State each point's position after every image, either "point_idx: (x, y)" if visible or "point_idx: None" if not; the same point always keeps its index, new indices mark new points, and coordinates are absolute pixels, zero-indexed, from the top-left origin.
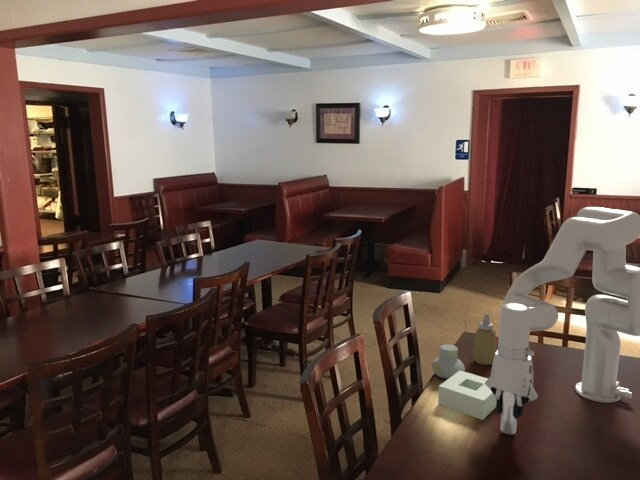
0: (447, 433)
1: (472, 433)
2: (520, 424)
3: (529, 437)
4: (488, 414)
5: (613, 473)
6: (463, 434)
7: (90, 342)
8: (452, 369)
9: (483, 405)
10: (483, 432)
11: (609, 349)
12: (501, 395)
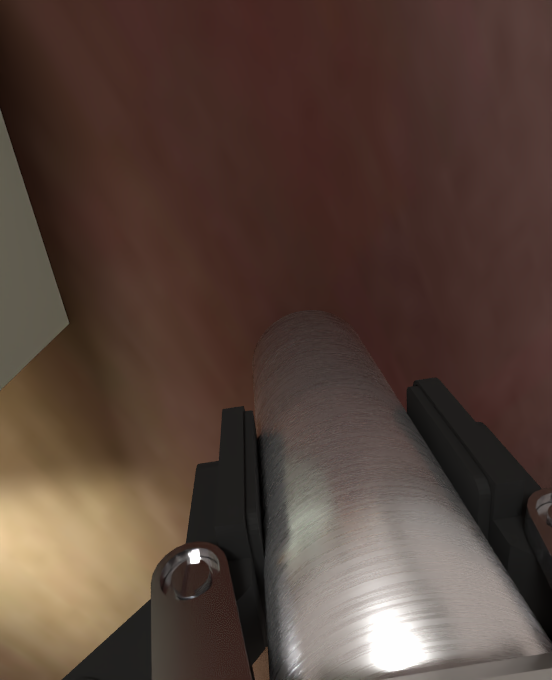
0: (55, 595)
1: (145, 503)
2: (308, 149)
3: (436, 282)
4: (31, 206)
5: None
6: (119, 545)
7: None
8: None
9: (8, 381)
10: (182, 450)
11: None
12: (244, 630)
